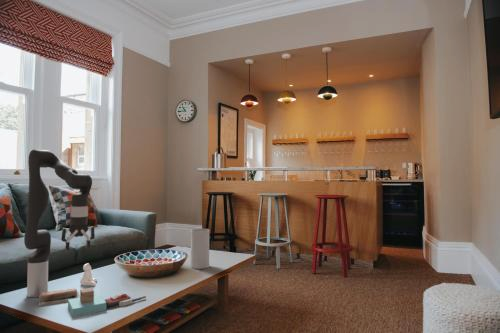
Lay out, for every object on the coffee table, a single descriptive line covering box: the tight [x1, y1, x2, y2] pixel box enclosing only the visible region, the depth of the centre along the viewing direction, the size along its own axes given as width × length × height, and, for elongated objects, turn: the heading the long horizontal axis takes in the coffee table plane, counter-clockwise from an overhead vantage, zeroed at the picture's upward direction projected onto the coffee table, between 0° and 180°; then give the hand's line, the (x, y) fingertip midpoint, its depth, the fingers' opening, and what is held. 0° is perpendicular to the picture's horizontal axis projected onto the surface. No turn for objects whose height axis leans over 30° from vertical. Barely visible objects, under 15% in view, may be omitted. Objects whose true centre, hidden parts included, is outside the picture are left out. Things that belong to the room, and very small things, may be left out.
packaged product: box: [38, 288, 80, 307], centre depth 175 cm, size 18×5×10 cm
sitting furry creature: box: [79, 262, 98, 287], centre depth 199 cm, size 10×9×12 cm
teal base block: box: [67, 294, 107, 318], centre depth 164 cm, size 14×14×4 cm
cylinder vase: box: [190, 228, 210, 270], centre depth 239 cm, size 12×12×25 cm
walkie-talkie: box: [104, 292, 147, 309], centre depth 172 cm, size 9×4×20 cm
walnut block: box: [79, 287, 95, 304], centre depth 164 cm, size 5×5×5 cm
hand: (77, 248), depth 169 cm, fingers open, 8 cm apart
